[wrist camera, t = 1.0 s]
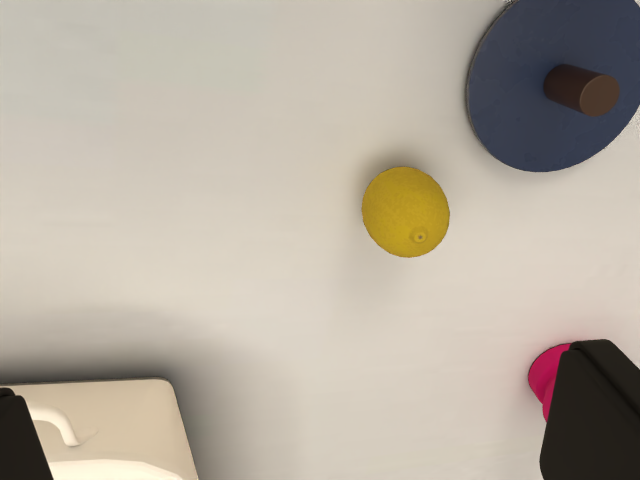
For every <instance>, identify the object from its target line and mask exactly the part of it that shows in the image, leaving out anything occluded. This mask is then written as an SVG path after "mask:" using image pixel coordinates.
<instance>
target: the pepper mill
mask: <svg viewBox="0 0 640 480" xmlns="http://www.w3.org/2000/svg"><path fill="white" fill-rule="evenodd" d="M570 345H571V344H564V345H559V346H556V347H554V348H551V349H549V350H547V351H546V352H544V353H543V354H541V355H540V356H539V357H538V358H537V359H536V360H535V362H534V363H533V365H532V367H531V368H530V372H529V375H528V380H529V385H530V387H531V389H532V390H533V392H534V393H535V395H536V396H537V398H538V399H539V401H540V402H541V403H542V404H543V415H544V418H545V420H546V422H547V419H548V414H549V409H550V404H551V399H552V394H553V389H554V384H555V379H556V374H557V369H558V364H559V359H560V356H561V353H562V352H563V351H567V350H568V349H569V346H570Z"/></svg>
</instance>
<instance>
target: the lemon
mask: <svg viewBox="0 0 640 480" xmlns="http://www.w3.org/2000/svg"><path fill="white" fill-rule="evenodd" d="M362 216H363V222H364V225H365V227H366V229H367V231H368V233H369V235H370V236H371V238H372V239H373V240H374V241H375V242H376V243H377V244H378V245H379V246H380V247H381V248H383V249H384V250H386V251H387V252H389V253H390V254H393V255H396V256H399V257H408V258H410V257H417V256H421V255H424V254H426V253H428V252H430V251H431V250H433V249H434V248H435V247H436V246H437V245H438V244H439V243H440V242H441V241H442V239H443V238H444V236H445V235H446V232H447V229H448V226H449V217H450V212H449V207H448V202H447V198H446V196H445V194H444V193H443V191H442V189H441V187H440V186H439V184H438V183H437V182H436V181H435V180H434V179H433V178H432V177H431V176H429V175H428V174H426V173H424V172H422V171H420V170H418V169H414V168H410V167H396V168H392V169H388V170H386V171H384V172H382V173H381V174H379V175H378V176H377V177H376V178H374V179H373V180H372V182H371V183H370V184H369V186H368V187H367V189H366V191H365V194H364V196H363V202H362Z"/></svg>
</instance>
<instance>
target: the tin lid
mask: <svg viewBox="0 0 640 480" xmlns="http://www.w3.org/2000/svg"><path fill="white" fill-rule="evenodd" d="M466 101H467V110H468V115H469V119H470V123H471V125H472V128H473V130H474V133H475V134H476V136H477V138H478V139H479V141H480V143H481V144H482V145H483V146H484V147H485V149H486V150H487V151H488V152H489V153H491V154H492V155H493V156H494V157H495V158H496V159H498V160H500V161H501V162H503V163H504V164H506V165H509V166H511V167H513V168H516V169H520V170H523V171H530V172H549V171H557V170H561V169H565V168H568V167H571V166H574V165H576V164H579V163H581V162H583V161H585V160H587V159H589V158H590V157H592V156H593V155H595V154H596V153H598V152H600V151H601V150H602V149H603V148H605V147H606V146H607V145H608V144H610V143H611V142H612V141H613V140H614V139H615V138H616V137H617V136H618V135H619V134H620V133H621V131H622V130H623V129H624V128H625V127H626V125H627V124H628V123H629V121H630V120H631V118H632V117H633V115H634V114H635V112H636V111H637V109H638V107H639V105H640V7H639V6H638V4H637V3H636V2H635V1H634V0H516V1H515V2H514V3H512V4H511V5H510V6H509V7H508V8H507V9H506V10H505V11H504V12H502V13H501V14H500V16H499V17H498V18H497V19H496V20H495V22H494V23H493V24H492V25H491V27H490V28H489V30H488V31H487V32H486V34H485V35H484V37H483V39H482V41H481V43H480V45H479V46H478V48H477V50H476V53H475V56H474V58H473V61H472V64H471V68H470V71H469V75H468V82H467V98H466Z"/></svg>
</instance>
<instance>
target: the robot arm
mask: <svg viewBox="0 0 640 480" xmlns="http://www.w3.org/2000/svg"><path fill="white" fill-rule="evenodd" d="M539 462H540V469H541V473H542V476H543V479H544V480H640V370H639V369H638V367H637V366H636V365H635V364H634V363H633V362H632V361H631V360H630V359H629V358H628V357H627V356H626V355H625V354H624V353H623V352H622V351H621V350H620V349H619V348H618V347H617V346H616V345H615V344H613V343H612V342H611V341H609V340H606V339H600V340H588V341H576V342H573V343H571V345H570V346H569V349H568V350H567V351H563V352H562V353H561V356H560V359H559V364H558V369H557V374H556V379H555V384H554V389H553V394H552V399H551V404H550V409H549V414H548V419H547V424H546V429H545V434H544V439H543V444H542V449H541V454H540V461H539ZM0 480H54V479H53V476H52V473H51V471H50V468H49V465H48V462H47V459H46V457H45V454H44V451H43V448H42V446H41V443H40V440H39V437H38V434H37V432H36V429H35V426H34V423H33V421H32V418H31V415H30V412H29V409H28V407H27V404H26V401H25V399H24V398H23V397H22V396H21V395H15V393H14V391H13V390H12V389H10V388H7V387H3V388H0Z"/></svg>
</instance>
